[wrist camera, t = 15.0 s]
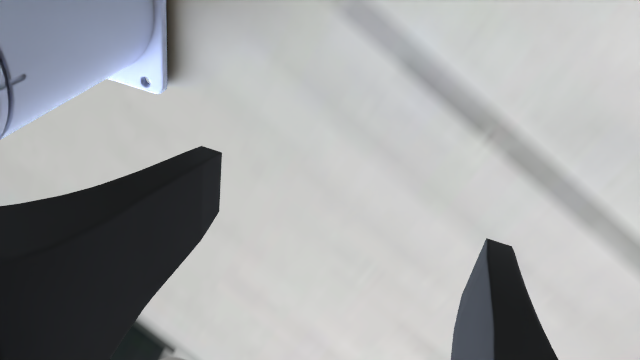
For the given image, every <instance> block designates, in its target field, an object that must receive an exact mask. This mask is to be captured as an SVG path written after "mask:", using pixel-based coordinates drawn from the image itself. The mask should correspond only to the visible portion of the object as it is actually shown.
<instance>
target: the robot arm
mask: <svg viewBox="0 0 640 360" xmlns="http://www.w3.org/2000/svg"><path fill="white" fill-rule="evenodd" d="M145 77H146V78H148V80H149V81H150V84H149V83H148V82H147V81H146V78H145ZM105 79H110V80H113V81H117V82H120V83H123V84H126V85H129V86H132V87H136V88H139V89H142V90H145V91H148V92H152V93H155V94H160V93H162V92H164V91H165V90H166V89H167V20H166V0H0V140H1V139H2V138H4V137H6V136H8V135H9V134H11V133H13V132H14V131H16V130H18V129H20V128H21V127H23V126H25V125H27V124H28V123H30V122H32V121H34V120H35V119H37V118H39V117H41V116H42V115H44V114H46V113H48V112H49V111H51V110H53V109H55V108H56V107H58V106H60V105H62V104H63V103H65V102H67V101H69V100H70V99H72V98H74V97H75V96H77V95H79V94H81V93H82V92H84V91H86V90H88V89H89V88H91V87H93V86H95V85H96V84H98V83H100V82H102V81H103V80H105ZM221 159H222V153H221V152H218V151H215V150H212V149H209V148H206V147H203V146H201V147H198V148H195V149H192V150H190V151H187V152H185V153H182V154H180V155H177V156H175V157H172V158H170V159H168V160H165V161H163V162H160V163H158V164H155V165H153V166H150V167H148V168H145V169H143V170H140V171H138V172H135V173H132V174H130V175H127V176H124V177H121V178H118V179H115V180H113V181H110V182H107V183H104V184H101V185H98V186H95V187H91V188H88V189H84V190H81V191H77V192H73V193H69V194H65V195H61V196H57V197H52V198H47V199H41V200H36V201H31V202H26V203H21V204H14V205H7V206H0V360H110V358H111V357H112V355H113V354H114V352H115V351H116V349H117V347H118V346H119V344H120V343H121V341H122V340H123V338H124V337H125V335H126V334H127V332H128V331H129V329H130V328H131V326H132V325H133V323H134V322H135V320H136V319H137V318H138V316H139V315H140V313H141V312H142V310H143V309H144V307H145V306H146V305H147V304H148V302H149V301H150V300H151V299H152V297H153V296H154V295H155V294H156V292H157V291H158V290H159V289H160V288H161V287H162V285H163V284H164V283H165V282H166V281H167V280H168V278H169V277H170V276H171V275H172V274H173V273H174V271H175V270H176V269H177V268H178V267H179V266H180V264H181V263H182V262H183V261H184V260H185V259H186V257H187V256H188V255H189V254H190V253H191V251H192V250H193V249H194V248H195V247H196V245H197V244H198V243H199V242H200V241H201V239H202V238H203V236H204V235H205V233H206V232H207V230H208V229H209V227H210V225H211V224H212V222H213V220H214V219H215V217H216V216H217V214H218V212H219V202H220V180H221ZM451 360H558V358H557V356H556V354H555V352H554V350H553V349H552V347H551V345H550V343H549V340H548V338H547V336H546V334H545V332H544V330H543V328H542V326H541V324H540V321H539V319H538V317H537V314H536V312H535V310H534V307H533V305H532V302H531V300H530V297H529V295H528V292H527V289H526V287H525V284H524V281H523V278H522V275H521V272H520V269H519V266H518V263H517V260H516V256H515V253H514V250H513V248H512V246H509V245H505V244H502V243H499V242H496V241H493V240H490V239H487V238H486V241H485V243H484V245H483V248H482V250H481V252H480V255H479V257H478V259H477V261H476V264H475V266H474V268H473V271H472V273H471V275H470V278H469V280H468V282H467V285H466V287H465V289H464V291H463V294H462V297H461V301H460V305H459V309H458V314H457V318H456V323H455V327H454V334H453V343H452V353H451Z"/></svg>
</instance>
